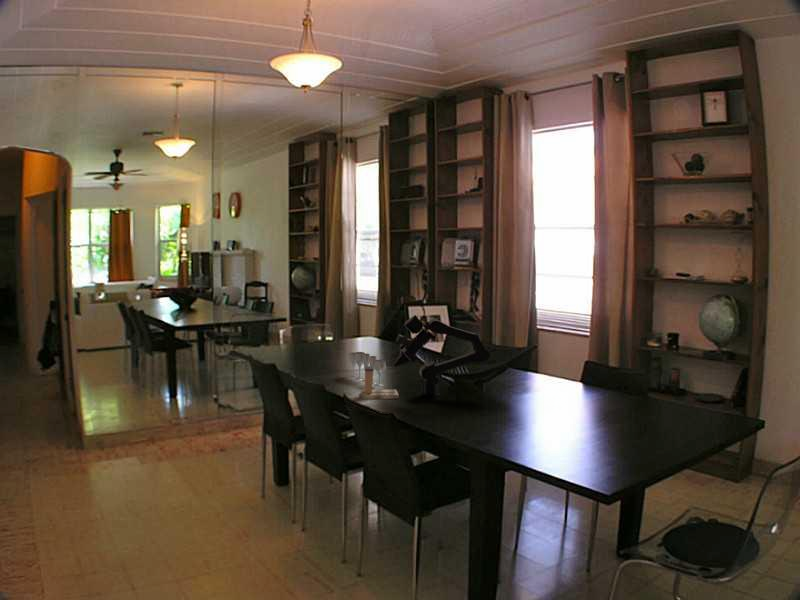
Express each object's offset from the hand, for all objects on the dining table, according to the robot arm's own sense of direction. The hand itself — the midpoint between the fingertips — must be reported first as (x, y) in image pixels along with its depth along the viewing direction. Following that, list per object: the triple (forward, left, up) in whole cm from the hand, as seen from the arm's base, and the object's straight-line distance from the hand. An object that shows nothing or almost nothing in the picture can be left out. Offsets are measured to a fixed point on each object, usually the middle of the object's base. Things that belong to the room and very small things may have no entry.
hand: (394, 365), depth 270 cm
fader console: (+5, +5, -13) cm, 15 cm away
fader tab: (+8, +8, -12) cm, 16 cm away
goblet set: (+28, -14, -14) cm, 34 cm away
